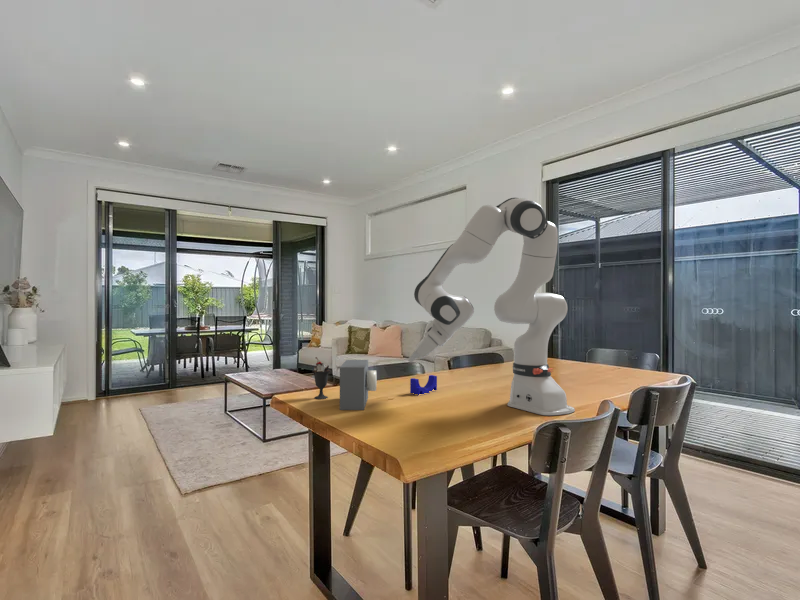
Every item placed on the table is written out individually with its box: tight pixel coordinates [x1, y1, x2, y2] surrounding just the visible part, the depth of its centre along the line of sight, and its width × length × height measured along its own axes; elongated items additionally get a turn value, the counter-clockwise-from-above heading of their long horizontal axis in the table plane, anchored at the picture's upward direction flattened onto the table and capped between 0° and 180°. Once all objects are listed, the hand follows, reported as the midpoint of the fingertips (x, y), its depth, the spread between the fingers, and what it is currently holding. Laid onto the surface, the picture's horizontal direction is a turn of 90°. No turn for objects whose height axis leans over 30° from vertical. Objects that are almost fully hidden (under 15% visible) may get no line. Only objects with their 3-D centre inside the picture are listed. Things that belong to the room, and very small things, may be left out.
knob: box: [366, 369, 378, 392], centre depth 150 cm, size 9×7×7 cm
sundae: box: [311, 356, 331, 400], centre depth 159 cm, size 7×7×15 cm
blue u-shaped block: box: [409, 374, 438, 396], centre depth 169 cm, size 12×4×6 cm, turn 133°
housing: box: [339, 359, 369, 411], centre depth 150 cm, size 8×18×14 cm, turn 0°
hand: (409, 360), depth 154 cm, fingers closed
